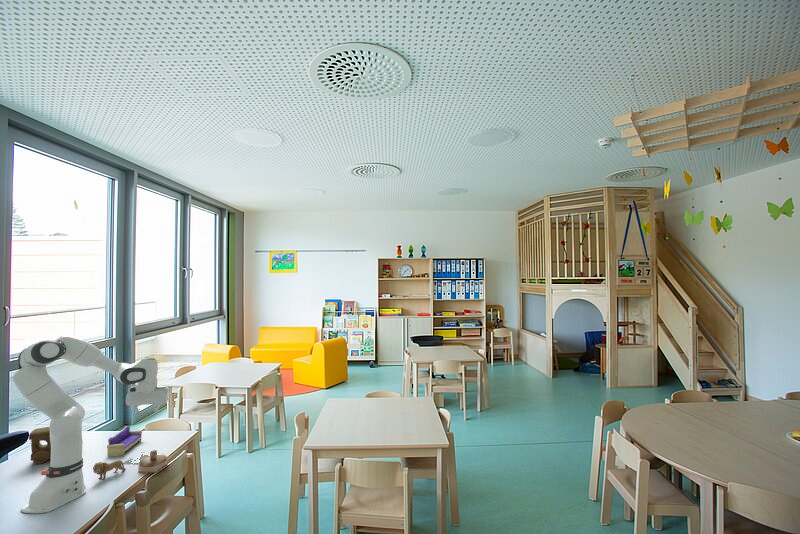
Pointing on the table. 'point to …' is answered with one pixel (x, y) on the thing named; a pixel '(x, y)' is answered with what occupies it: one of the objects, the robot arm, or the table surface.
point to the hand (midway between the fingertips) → (146, 412)
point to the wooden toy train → (40, 445)
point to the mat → (135, 460)
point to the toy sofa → (123, 441)
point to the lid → (153, 459)
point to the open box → (152, 468)
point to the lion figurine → (107, 468)
